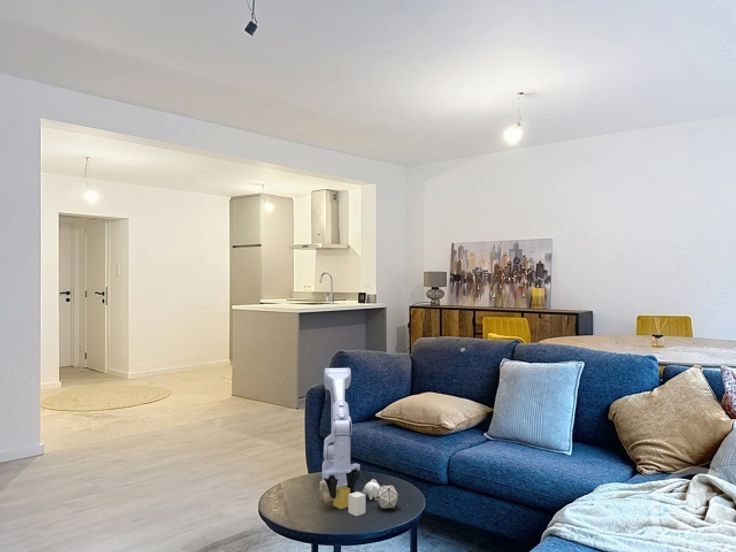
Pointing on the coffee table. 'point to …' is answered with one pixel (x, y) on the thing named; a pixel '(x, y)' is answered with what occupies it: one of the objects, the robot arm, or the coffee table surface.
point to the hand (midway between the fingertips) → (341, 495)
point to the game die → (387, 496)
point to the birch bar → (325, 492)
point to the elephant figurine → (371, 489)
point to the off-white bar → (356, 503)
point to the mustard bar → (341, 497)
